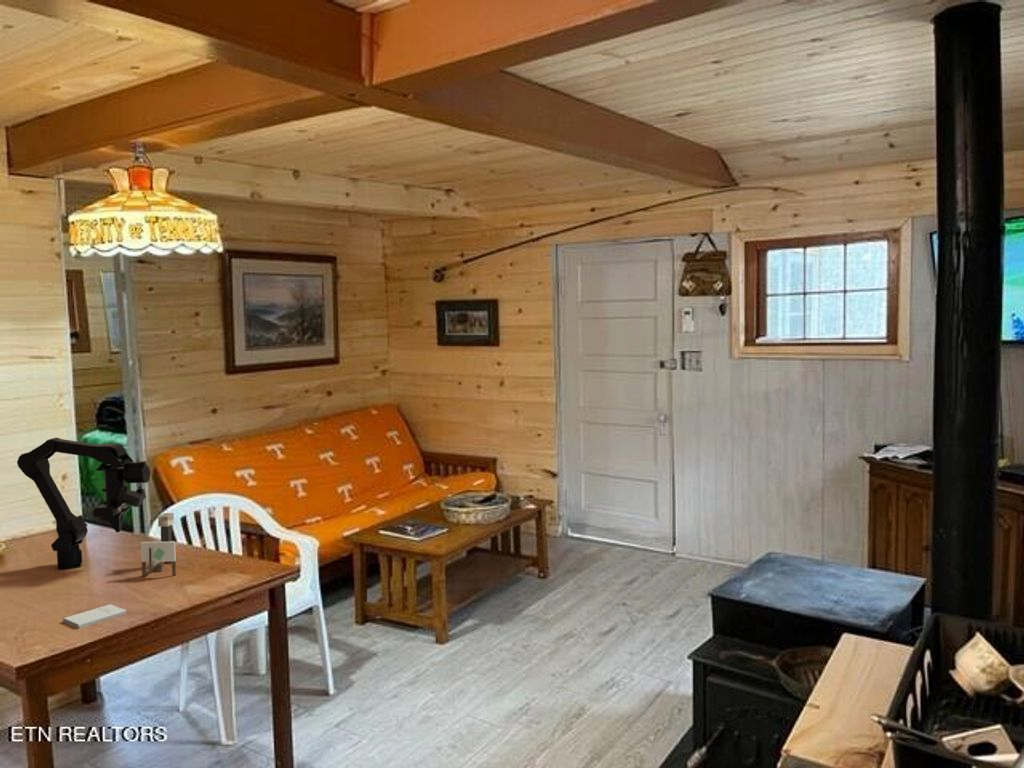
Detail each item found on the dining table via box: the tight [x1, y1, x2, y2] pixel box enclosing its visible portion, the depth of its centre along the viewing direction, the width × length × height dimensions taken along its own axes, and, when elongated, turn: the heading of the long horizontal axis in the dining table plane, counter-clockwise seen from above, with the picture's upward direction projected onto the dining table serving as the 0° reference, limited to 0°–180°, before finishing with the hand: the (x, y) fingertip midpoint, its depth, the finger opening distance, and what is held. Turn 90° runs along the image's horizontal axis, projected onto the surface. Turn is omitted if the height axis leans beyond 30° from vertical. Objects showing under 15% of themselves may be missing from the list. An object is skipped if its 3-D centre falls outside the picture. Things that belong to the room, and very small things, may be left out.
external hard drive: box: [62, 604, 127, 630], centre depth 208 cm, size 2×8×12 cm
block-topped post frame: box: [146, 512, 175, 571], centre depth 248 cm, size 3×14×14 cm, turn 1°
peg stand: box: [141, 561, 177, 577], centre depth 249 cm, size 10×14×4 cm
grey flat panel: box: [140, 541, 176, 563], centre depth 242 cm, size 10×1×6 cm, turn 91°
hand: (118, 531), depth 252 cm, fingers closed
